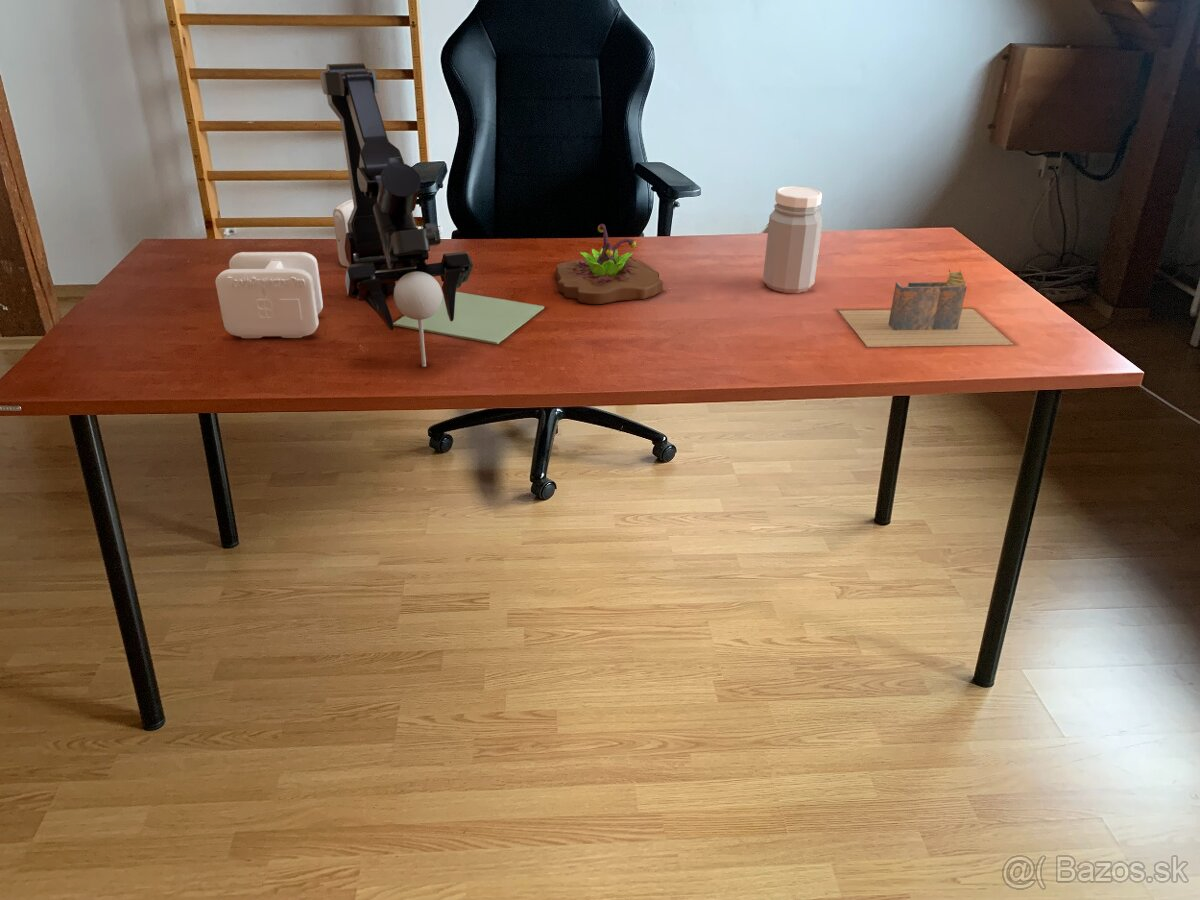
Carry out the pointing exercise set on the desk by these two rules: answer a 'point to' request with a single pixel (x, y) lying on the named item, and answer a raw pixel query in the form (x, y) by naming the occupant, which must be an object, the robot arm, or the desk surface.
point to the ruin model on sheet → (925, 318)
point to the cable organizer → (270, 294)
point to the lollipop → (418, 300)
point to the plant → (607, 276)
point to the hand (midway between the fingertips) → (422, 324)
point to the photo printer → (342, 228)
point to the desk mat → (476, 318)
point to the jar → (793, 240)
